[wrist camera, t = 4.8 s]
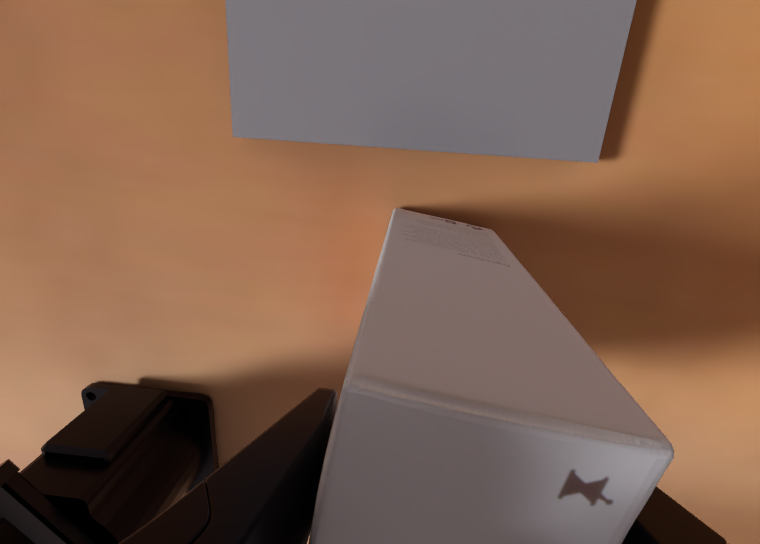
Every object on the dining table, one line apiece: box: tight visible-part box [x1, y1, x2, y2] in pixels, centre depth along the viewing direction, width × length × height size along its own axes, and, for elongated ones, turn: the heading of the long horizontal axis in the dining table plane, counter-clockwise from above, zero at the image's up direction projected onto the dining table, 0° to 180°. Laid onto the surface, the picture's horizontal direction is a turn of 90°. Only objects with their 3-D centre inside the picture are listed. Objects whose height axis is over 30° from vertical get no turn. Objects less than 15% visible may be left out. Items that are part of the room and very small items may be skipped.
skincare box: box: [309, 208, 674, 544], centre depth 11 cm, size 6×4×12 cm
